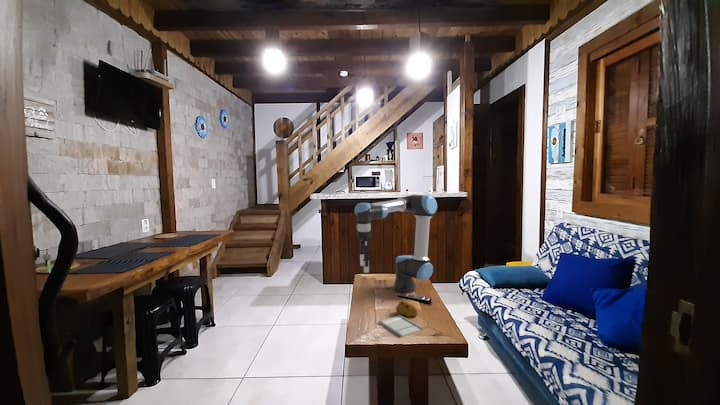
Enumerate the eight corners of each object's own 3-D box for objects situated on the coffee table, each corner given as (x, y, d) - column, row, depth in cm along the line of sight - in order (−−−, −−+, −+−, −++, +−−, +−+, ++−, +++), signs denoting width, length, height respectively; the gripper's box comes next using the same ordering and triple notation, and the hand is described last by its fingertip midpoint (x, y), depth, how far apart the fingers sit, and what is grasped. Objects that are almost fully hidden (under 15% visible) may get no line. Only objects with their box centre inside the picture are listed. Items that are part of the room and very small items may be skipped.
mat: (399, 316, 166) (399, 314, 166) (422, 329, 151) (422, 327, 151) (378, 322, 159) (378, 320, 159) (400, 337, 144) (400, 334, 144)
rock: (406, 317, 175) (419, 306, 173) (409, 326, 166) (422, 314, 165) (392, 305, 173) (405, 293, 171) (394, 314, 165) (407, 301, 163)
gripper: (354, 227, 181) (354, 263, 182) (360, 235, 156) (361, 275, 157) (366, 227, 182) (367, 262, 183) (374, 234, 157) (375, 275, 158)
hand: (364, 268), depth 170 cm, fingers open, 13 cm apart
